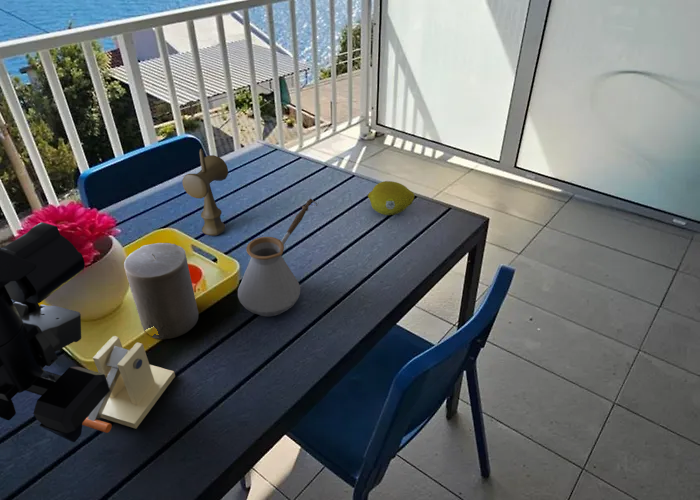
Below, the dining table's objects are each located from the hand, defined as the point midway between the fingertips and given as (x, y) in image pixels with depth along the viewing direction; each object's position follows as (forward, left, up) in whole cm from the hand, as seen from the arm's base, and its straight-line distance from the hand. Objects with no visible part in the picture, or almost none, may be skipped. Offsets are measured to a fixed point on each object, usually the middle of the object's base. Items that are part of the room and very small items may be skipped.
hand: (43, 427), depth 58 cm
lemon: (+78, +24, -12) cm, 83 cm away
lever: (+9, +7, -7) cm, 13 cm away
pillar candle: (+22, +21, -12) cm, 33 cm away
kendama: (+41, +42, -12) cm, 60 cm away
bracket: (+11, +9, -12) cm, 19 cm away
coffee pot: (+43, +16, -12) cm, 47 cm away
